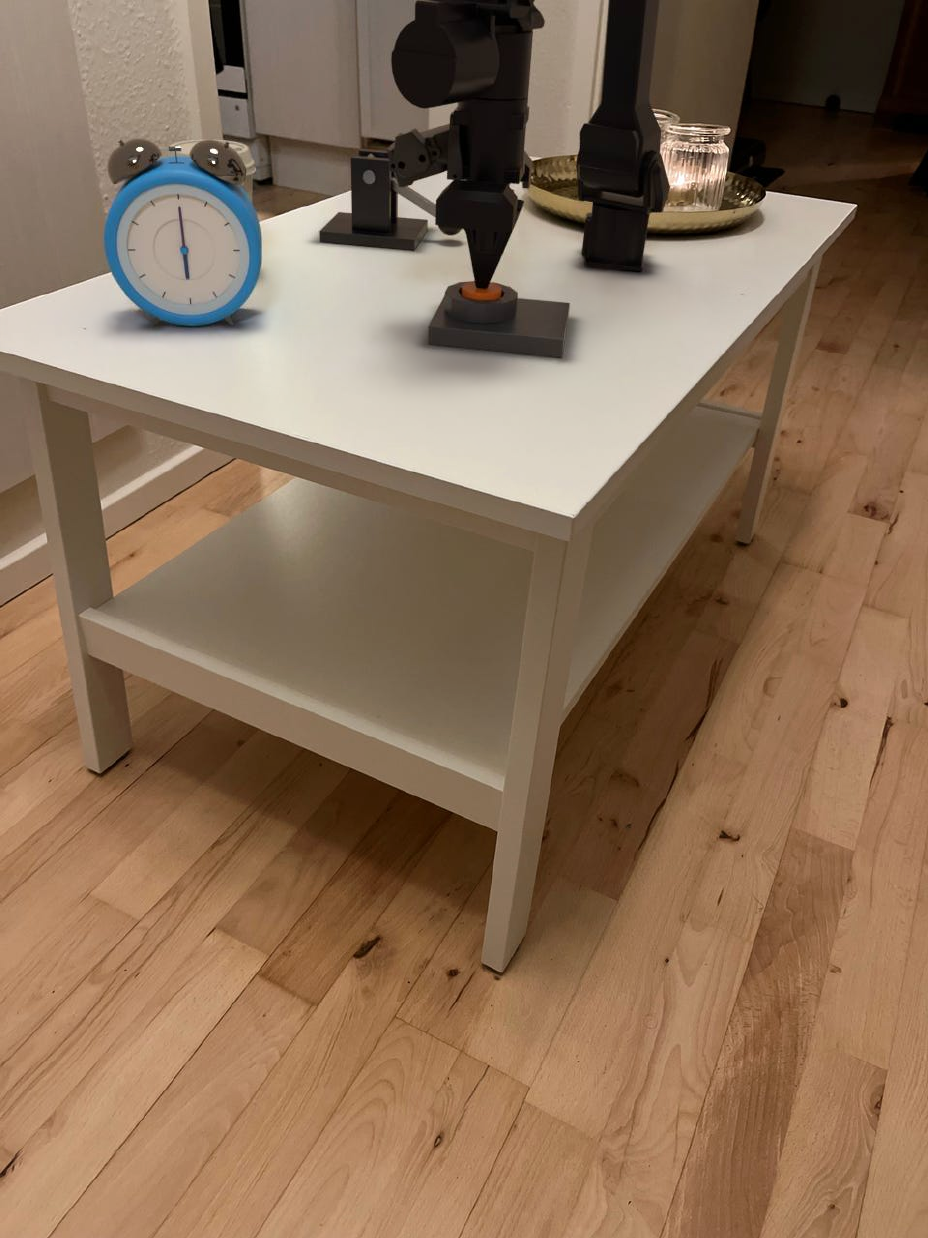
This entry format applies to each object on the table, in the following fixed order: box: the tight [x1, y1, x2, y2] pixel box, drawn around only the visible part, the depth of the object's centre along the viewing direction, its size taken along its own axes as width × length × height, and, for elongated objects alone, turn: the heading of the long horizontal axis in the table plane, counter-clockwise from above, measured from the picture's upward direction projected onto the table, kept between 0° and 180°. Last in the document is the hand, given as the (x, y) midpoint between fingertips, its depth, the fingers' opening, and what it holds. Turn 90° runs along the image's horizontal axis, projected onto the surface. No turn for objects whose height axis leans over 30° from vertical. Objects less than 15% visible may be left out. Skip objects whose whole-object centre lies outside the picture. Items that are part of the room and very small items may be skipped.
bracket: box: [318, 148, 429, 251], centre depth 113 cm, size 11×9×9 cm
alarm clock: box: [103, 137, 263, 327], centre depth 86 cm, size 13×6×15 cm, turn 100°
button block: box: [427, 280, 571, 358], centre depth 91 cm, size 12×10×4 cm
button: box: [462, 281, 502, 300], centre depth 90 cm, size 4×4×2 cm
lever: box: [367, 154, 463, 237], centre depth 113 cm, size 13×3×3 cm, turn 82°
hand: (481, 287), depth 89 cm, fingers closed, pressing on button
